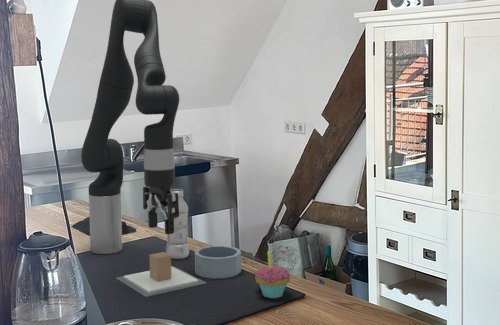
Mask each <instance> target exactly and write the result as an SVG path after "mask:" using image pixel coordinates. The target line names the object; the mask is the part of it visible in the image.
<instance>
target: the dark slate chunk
mask: <svg viewBox="0 0 500 325" xmlns="http://www.w3.org/2000/svg"><path fill="white" fill-rule="evenodd" d="M121 223H122V236H124V235H129V234H132V233H134V232H137V228H135V227H134V226H131V225H129V224H127V223H126V221H123V220H121ZM72 227H73V229H75V230H77V231H78V230H79V231H78V232H80V233H81V234H85V235H86V236H89V237H90V215H89V216H87V217H86V218H83V219H82V220H80V221H77V222H76V223H74V224H72V225H71V228H72Z"/></svg>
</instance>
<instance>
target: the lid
mask: <svg viewBox="0 0 500 325" xmlns="http://www.w3.org/2000/svg"><path fill="white" fill-rule="evenodd" d="M148 259H149V270H147V271H142V272H141V271H140V272H136V273H131V274H125V275H123V278H124V279H125V280H127V281H129V282H130V283H132V284H134V285H135V286H137V287H138V288H140V289H142V290H143V291H145V292H147V293H148V294H149V293H154V292H158V291H163V290H167V289H172V288H176V287H181V286H185V285H190V284H194V283H199V280H197V279H195V278H193V277H191V276H190V275H191V274H190V275H188V274H189V273H188V274H186V273H187V272H186V273H184V272H185V271H184V272H182V271H183V270H182V271H180V270H181V269H180V270H178V269H179V268H178V269H176V268H177V267H176V268H174V267H175V266H174V267H172V266H173V265H172V259H171V255H169V254H167V253H166V252H165V251H161V252H156V253H152V254H149V258H148Z"/></svg>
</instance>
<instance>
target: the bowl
mask: <svg viewBox="0 0 500 325" xmlns="http://www.w3.org/2000/svg"><path fill="white" fill-rule="evenodd" d="M241 264H242V252H241V250H240V248H236V247H234V246H228V245H208V246H202V247H200V248H198V249H196V250H194V271H195V272H194V273H195V275H197V276H199V277H200V278H206V279H214V280H215V279H227V278H228V279H229V278H232V277H235V276H236V277H237V276H238V275H239V274H241V273H242V265H241Z"/></svg>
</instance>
